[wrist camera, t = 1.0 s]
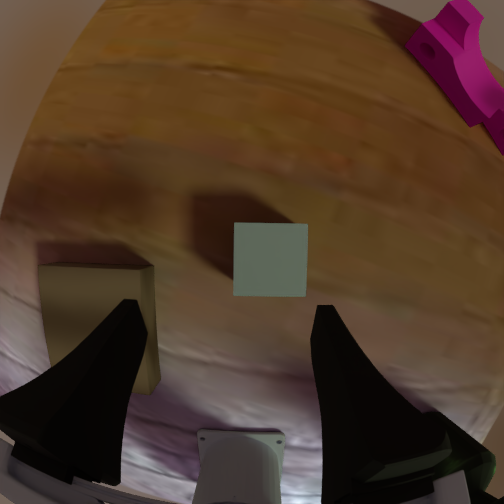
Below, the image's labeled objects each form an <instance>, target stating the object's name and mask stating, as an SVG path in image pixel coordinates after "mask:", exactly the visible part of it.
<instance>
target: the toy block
mask: <svg viewBox="0 0 504 504" xmlns="http://www.w3.org/2000/svg"><path fill="white" fill-rule="evenodd" d="M483 19H484V17H483V16H482V15H481V14H480V13H479V11H478V10H477V9H476V8H475V7H474V6H473V5H472V4H471V3H470V2H469V1H468V0H453V1H450V2H448V3H447V4H446V6H445V7H444V8H443V9H442V10H441V11H440V13H439V14H438V15H437V16H436V17H435V18H434V19H432V20H429V21H427V22H425V23H422V24H421V25H420V27H419V28H418V29H417V30H416V32H415V33H414V34H413V36H412V37H411V38H410V39H409V41H408V42H407V43H406V44H405V47H406V48H407V49H408V50H409V51H410V52H411V53H412V54H413V55H414V56H415V58H416V59H417V60H418V61H419V62H420V63H421V64H422V65H423V67H424V68H425V69H426V70H427V71H428V72H429V74H430V75H431V76H432V77H433V78H434V80H435V81H436V82H437V83H438V84H439V86H440V87H441V88H442V90H443V91H444V92H445V93H446V95H447V96H448V97H449V99H450V100H451V101H452V103H453V104H454V105H455V107H456V108H457V110H458V111H459V112H460V114H461V115H462V117H463V118H464V120H465V121H466V123H467V124H468V126H469V127H472V126H475V125H477V124H479V123H481V122H483V123H484V125H485V126H486V128H487V130H488V131H489V133H490V134H491V136H492V138H493V139H494V141H495V143H496V145H497V146H498V148H499V150H500V152H501V154H502V155H504V89H503V88H502V87H501V86H500V85H499V83H498V82H497V81H496V80H495V78H494V77H493V76H492V74H491V72H490V71H489V69H488V67H487V66H486V63H485V61H484V59H483V56H482V53H481V50H480V46H479V28H480V24H481V22H482V20H483Z"/></svg>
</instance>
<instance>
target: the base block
mask: <svg viewBox="0 0 504 504" xmlns="http://www.w3.org/2000/svg"><path fill="white" fill-rule="evenodd" d="M38 276H39V289H40V300H41V309H42V317H43V324H44V331H45V337H46V343H47V348H48V354H49V359H50V364H51V367H53V366H54V365H55V364H57V363H58V362H59V361H60V360H62V359H63V358H64V357H65V356H67V355H68V354H69V353H70V352H71V351H72V350H74V349H75V348H76V347H77V346H78V345H79V344H80V343H81V342H82V341H83V340H84V339H85V338H86V337H87V336H88V335H89V334H90V333H91V332H92V331H93V330H94V329H95V328H96V327H97V326H98V325H99V324H100V323H101V322H102V321H103V320H104V319H105V318H106V317H107V316H108V315H109V314H110V313H111V311H112V310H113V309H114V308H115V307H116V306H117V305H118V304H119V303H120V302H121V301H122V300H123V299H136V300H137V301H138V304H139V307H140V310H141V313H142V316H143V319H144V322H145V325H146V328H147V331H148V336H147V342H146V347H145V351H144V356H143V359H142V362H141V365H140V368H139V371H138V374H137V377H136V380H135V383H134V386H133V389H132V393H138V394H144V395H151V393H152V392H153V390H154V389H155V387H156V386H157V384H158V383H159V381H160V380H161V375H160V366H159V355H158V343H157V329H156V312H155V290H154V266H151V265H120V264H93V263H69V262H55V263H48V264H42V265H38Z"/></svg>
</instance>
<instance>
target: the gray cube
mask: <svg viewBox="0 0 504 504" xmlns="http://www.w3.org/2000/svg"><path fill="white" fill-rule="evenodd" d="M307 245H308V224H288V223H234V293H233V296H286V297H306V278H307Z"/></svg>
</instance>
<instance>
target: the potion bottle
mask: <svg viewBox="0 0 504 504" xmlns="http://www.w3.org/2000/svg"><path fill="white" fill-rule="evenodd" d="M424 415H425V416H427V417H428V418H430V419H431V420H433V421H434V422H436V423H437V424H439V425H440V426H442V427H443V428H445V429H446V432H447V434H448V437H449V440H450V444H451V448H452V452H451V454H450V455H449V456H448V457H446V458H445V459H444V460H442V461H441V462H439V463H437V464H436V465H434V470H435V474H434V475H432V481H435V480H437V479H439V478H442V477H445V476H447V475H450V474H453V473H455V472H458V471H460V470H463V471H464V474H465V478H466V483H467V488H468V493H469V498H470V503H471V504H504V496H503V497H502V498H500V499H497V498H495V497H493V496H492V495H490V494H488V493H486V492H485V490H486V488H487V487H488V485H489V483H490V481H491V479H492V477H493V475H494V473H495V469H496V460H495V455H494V454H492V453H491V452H490V451H489V450H488V449H486V448H485V447H484V446H483V445H481V444H480V443H479V442H478V441H476V440H475V439H474V438H472V437H471V436H470V435H469V434H467V433H466V432H465V431H464V430H462V429H461V428H460V427H459V426H457V425H456V424H455V423H453V422H452V421H451V420H450V419H448V418H447V417H446V416H445V415H443V414H442V413H441V412H429V413H426V414H424Z"/></svg>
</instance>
